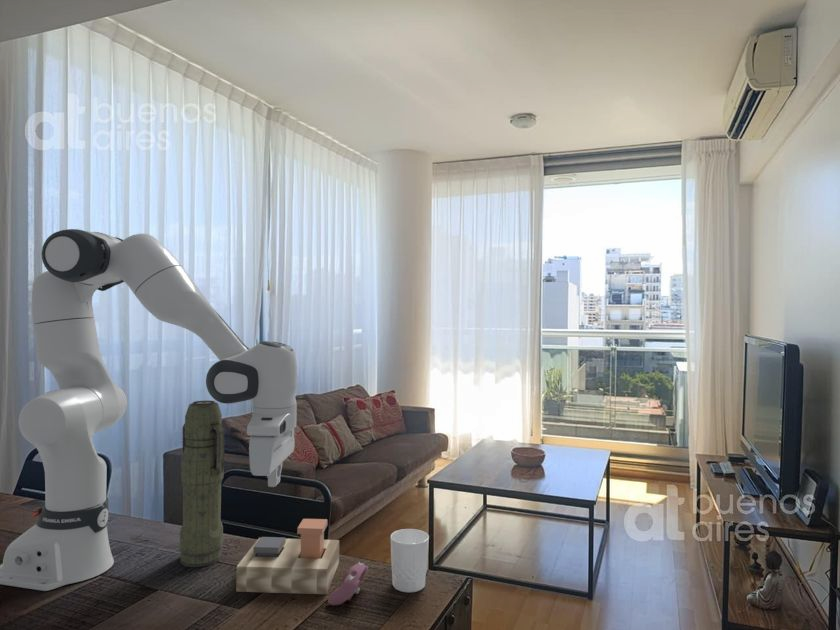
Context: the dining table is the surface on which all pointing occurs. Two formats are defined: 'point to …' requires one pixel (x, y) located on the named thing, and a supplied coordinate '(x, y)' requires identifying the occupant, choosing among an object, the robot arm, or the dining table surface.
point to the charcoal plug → (269, 546)
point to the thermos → (202, 485)
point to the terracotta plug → (312, 537)
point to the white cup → (409, 559)
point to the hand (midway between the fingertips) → (274, 484)
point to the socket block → (288, 570)
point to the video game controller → (349, 584)
